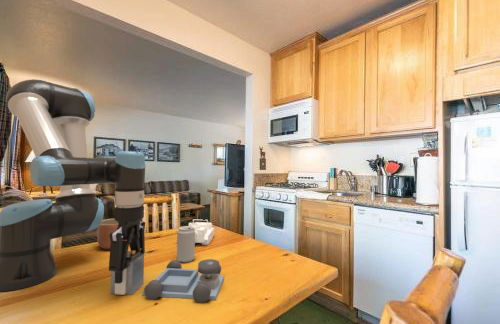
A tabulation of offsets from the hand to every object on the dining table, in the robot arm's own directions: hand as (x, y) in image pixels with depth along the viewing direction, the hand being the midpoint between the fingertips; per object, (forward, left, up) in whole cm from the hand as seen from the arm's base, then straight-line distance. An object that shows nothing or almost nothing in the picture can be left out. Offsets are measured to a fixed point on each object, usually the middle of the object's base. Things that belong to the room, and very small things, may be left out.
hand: (127, 287), depth 67 cm
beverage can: (+9, +22, -1) cm, 24 cm away
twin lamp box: (0, 0, 0) cm, 0 cm away
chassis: (+16, +3, 0) cm, 16 cm away
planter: (-26, +32, -1) cm, 41 cm away
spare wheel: (+22, +3, +3) cm, 23 cm away
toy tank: (+7, +43, -1) cm, 43 cm away
